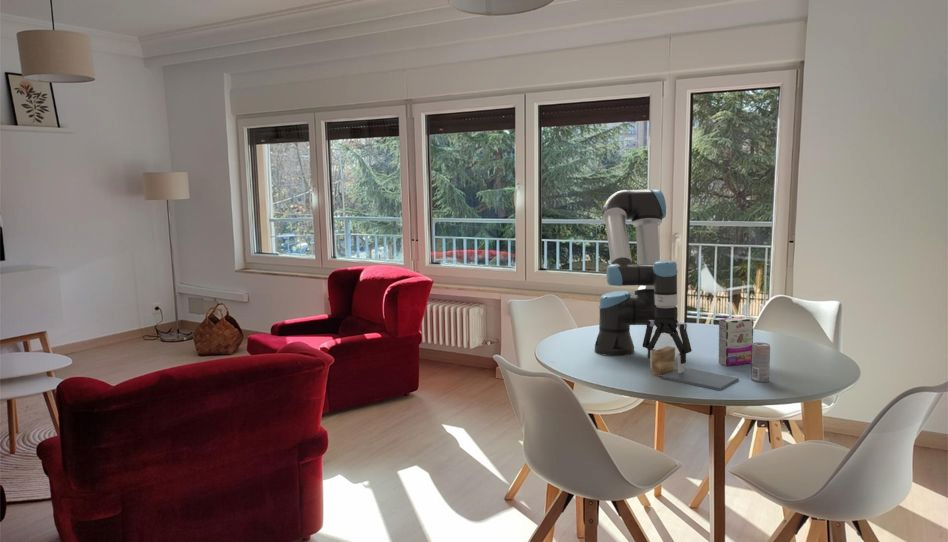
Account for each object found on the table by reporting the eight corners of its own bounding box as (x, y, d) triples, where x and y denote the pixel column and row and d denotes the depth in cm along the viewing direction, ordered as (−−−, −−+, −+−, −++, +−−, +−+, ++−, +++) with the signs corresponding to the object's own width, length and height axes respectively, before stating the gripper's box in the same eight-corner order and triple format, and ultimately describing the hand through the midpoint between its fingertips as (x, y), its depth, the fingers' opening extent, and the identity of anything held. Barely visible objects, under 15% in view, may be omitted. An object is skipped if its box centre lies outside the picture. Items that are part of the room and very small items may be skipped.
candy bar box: (743, 360, 228) (744, 316, 226) (753, 363, 224) (754, 318, 222) (717, 363, 226) (718, 318, 223) (726, 366, 221) (727, 321, 219)
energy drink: (764, 377, 208) (765, 342, 206) (772, 382, 202) (773, 346, 201) (748, 377, 208) (749, 342, 206) (755, 382, 202) (757, 346, 201)
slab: (652, 374, 214) (652, 351, 213) (666, 368, 221) (667, 346, 220) (660, 376, 212) (660, 353, 211) (674, 369, 219) (674, 347, 218)
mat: (661, 378, 209) (661, 375, 209) (681, 369, 219) (681, 366, 219) (720, 390, 195) (720, 388, 195) (738, 380, 205) (738, 377, 205)
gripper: (631, 305, 218) (632, 367, 220) (691, 310, 203) (692, 377, 205) (642, 302, 223) (643, 363, 226) (702, 307, 208) (702, 372, 210)
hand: (666, 370), depth 215 cm, fingers open, 10 cm apart
